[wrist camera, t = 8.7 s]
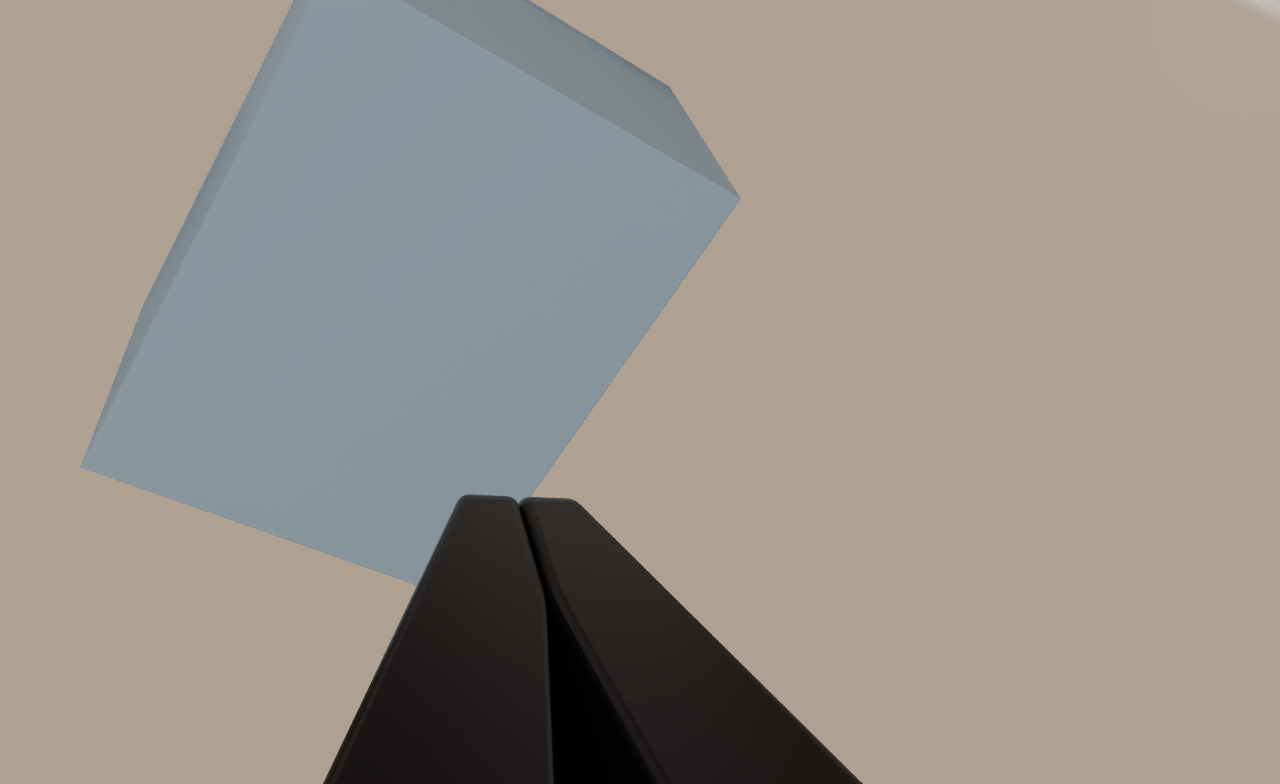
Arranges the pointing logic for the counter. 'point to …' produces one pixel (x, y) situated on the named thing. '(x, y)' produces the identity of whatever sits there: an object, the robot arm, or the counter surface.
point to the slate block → (407, 274)
